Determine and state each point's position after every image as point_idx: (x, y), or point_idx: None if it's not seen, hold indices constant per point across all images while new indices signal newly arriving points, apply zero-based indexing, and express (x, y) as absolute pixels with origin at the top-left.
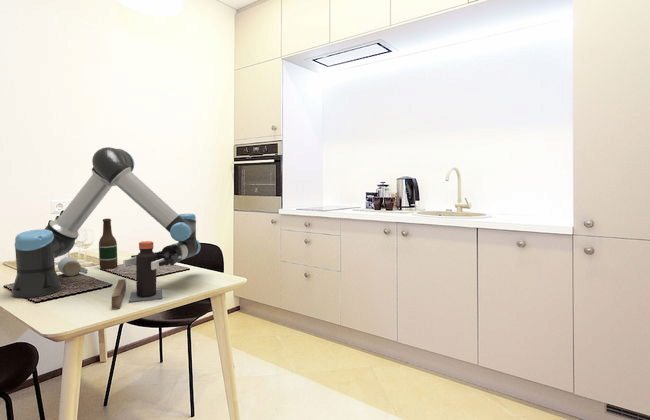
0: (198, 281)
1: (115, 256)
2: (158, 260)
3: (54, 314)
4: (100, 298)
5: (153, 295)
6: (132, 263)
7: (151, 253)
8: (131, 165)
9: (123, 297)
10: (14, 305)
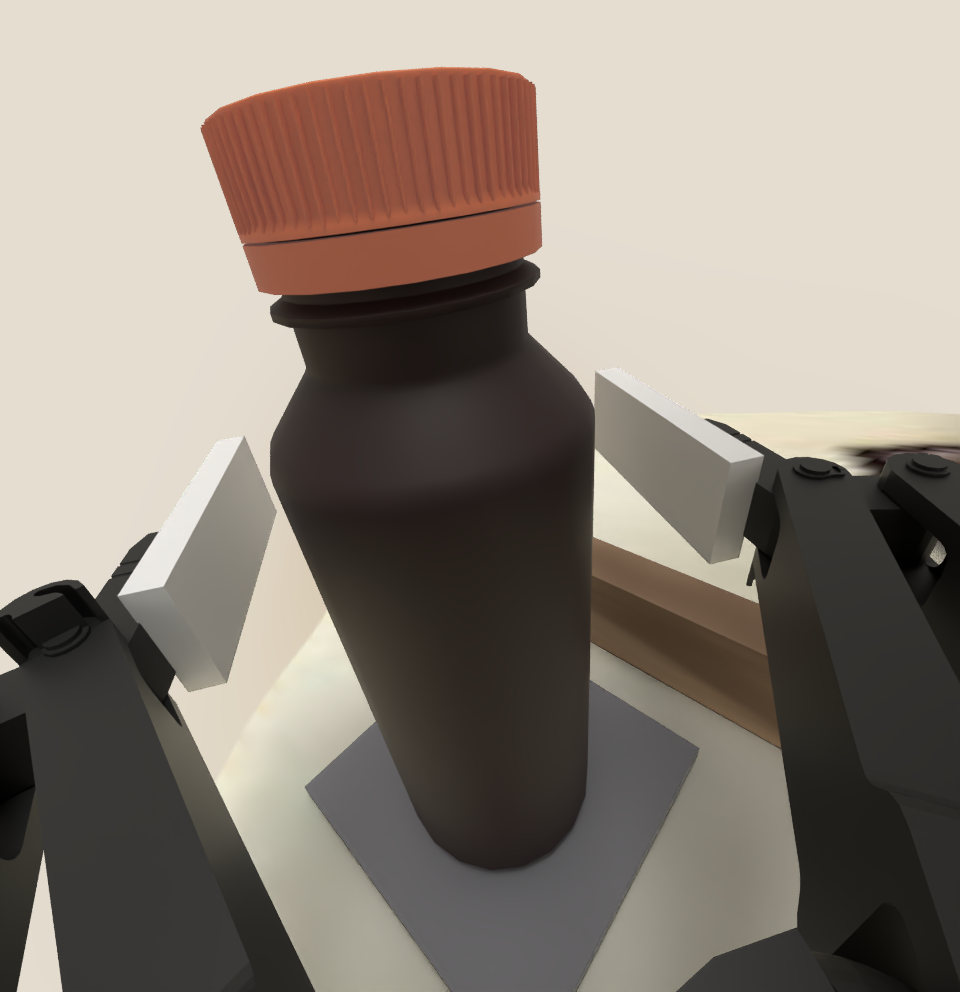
0: None
1: None
2: (183, 497)
3: None
4: (729, 587)
5: None
6: (651, 481)
7: (298, 385)
8: None
9: (622, 657)
10: (859, 419)
